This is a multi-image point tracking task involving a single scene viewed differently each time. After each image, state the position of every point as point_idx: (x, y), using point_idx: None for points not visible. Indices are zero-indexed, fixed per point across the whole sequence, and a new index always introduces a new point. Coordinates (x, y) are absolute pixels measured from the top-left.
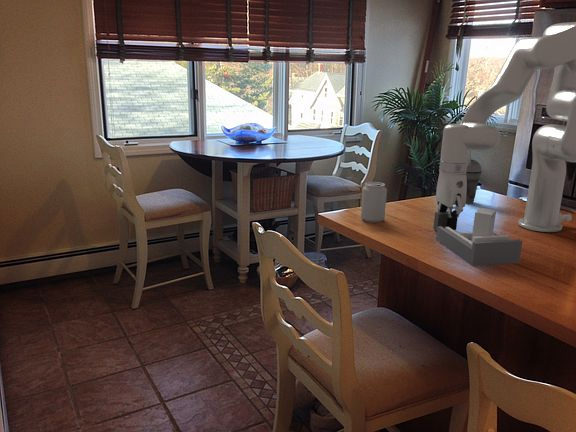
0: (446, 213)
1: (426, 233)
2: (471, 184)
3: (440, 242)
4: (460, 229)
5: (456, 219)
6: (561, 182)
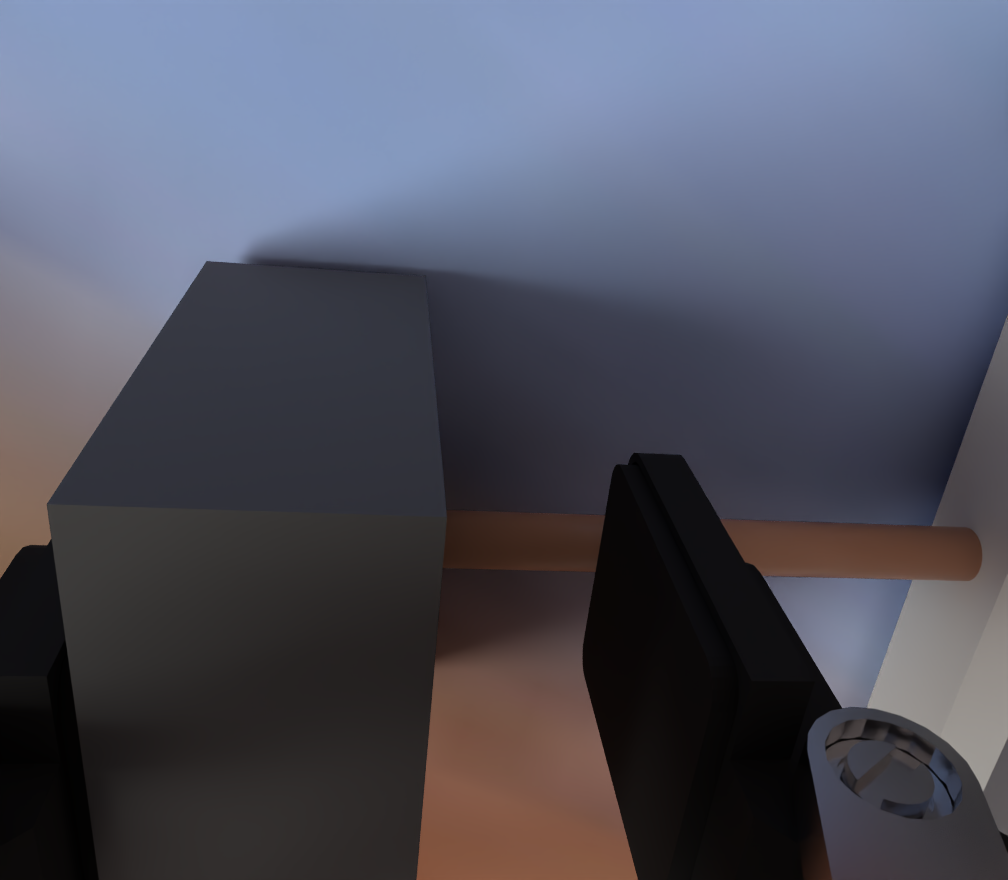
0: (335, 861)
1: (431, 844)
2: None
3: None
4: (307, 23)
5: (772, 649)
6: None
